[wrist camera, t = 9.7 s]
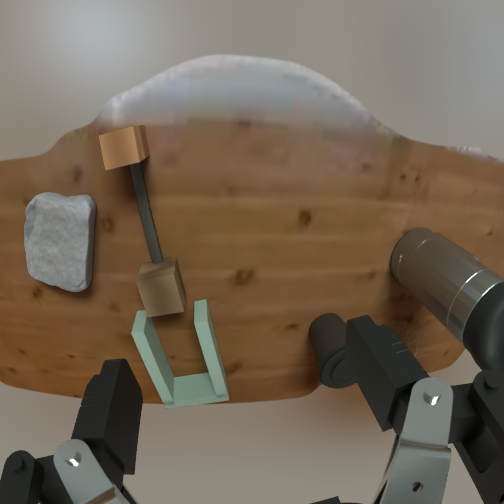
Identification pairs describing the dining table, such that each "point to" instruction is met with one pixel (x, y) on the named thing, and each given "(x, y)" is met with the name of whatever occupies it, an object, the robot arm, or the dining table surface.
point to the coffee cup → (331, 350)
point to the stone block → (60, 240)
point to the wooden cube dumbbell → (145, 224)
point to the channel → (184, 387)
